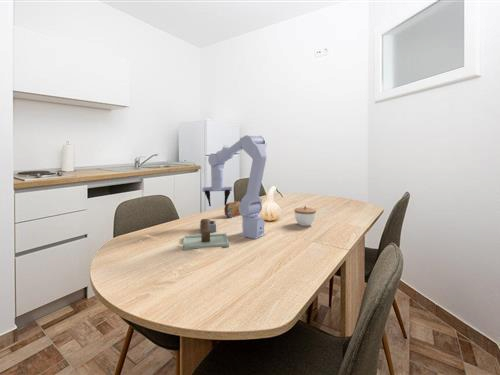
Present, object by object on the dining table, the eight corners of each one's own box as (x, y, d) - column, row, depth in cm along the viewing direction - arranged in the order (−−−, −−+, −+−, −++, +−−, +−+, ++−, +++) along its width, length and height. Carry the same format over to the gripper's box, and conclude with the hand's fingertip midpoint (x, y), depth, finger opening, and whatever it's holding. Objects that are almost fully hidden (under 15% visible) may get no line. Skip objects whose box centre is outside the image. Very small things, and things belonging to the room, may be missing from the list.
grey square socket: (215, 228, 139) (215, 220, 138) (216, 233, 132) (215, 224, 131) (200, 229, 137) (199, 221, 137) (200, 234, 130) (200, 225, 130)
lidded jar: (314, 222, 151) (314, 204, 149) (316, 227, 140) (317, 208, 139) (293, 221, 152) (294, 204, 151) (294, 227, 141) (295, 208, 140)
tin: (227, 219, 158) (227, 204, 156) (223, 218, 159) (223, 203, 158) (244, 214, 169) (244, 200, 168) (240, 213, 171) (240, 199, 170)
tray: (226, 236, 126) (225, 233, 126) (229, 247, 114) (229, 243, 113) (184, 239, 123) (184, 235, 123) (182, 250, 110) (182, 246, 110)
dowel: (212, 240, 119) (211, 219, 118) (205, 243, 116) (205, 221, 115) (205, 239, 121) (205, 218, 120) (199, 241, 118) (198, 220, 117)
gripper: (230, 177, 146) (231, 203, 148) (202, 177, 143) (202, 204, 145) (232, 178, 139) (232, 206, 141) (202, 179, 136) (203, 207, 138)
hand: (217, 205), depth 142 cm, fingers open, 7 cm apart
